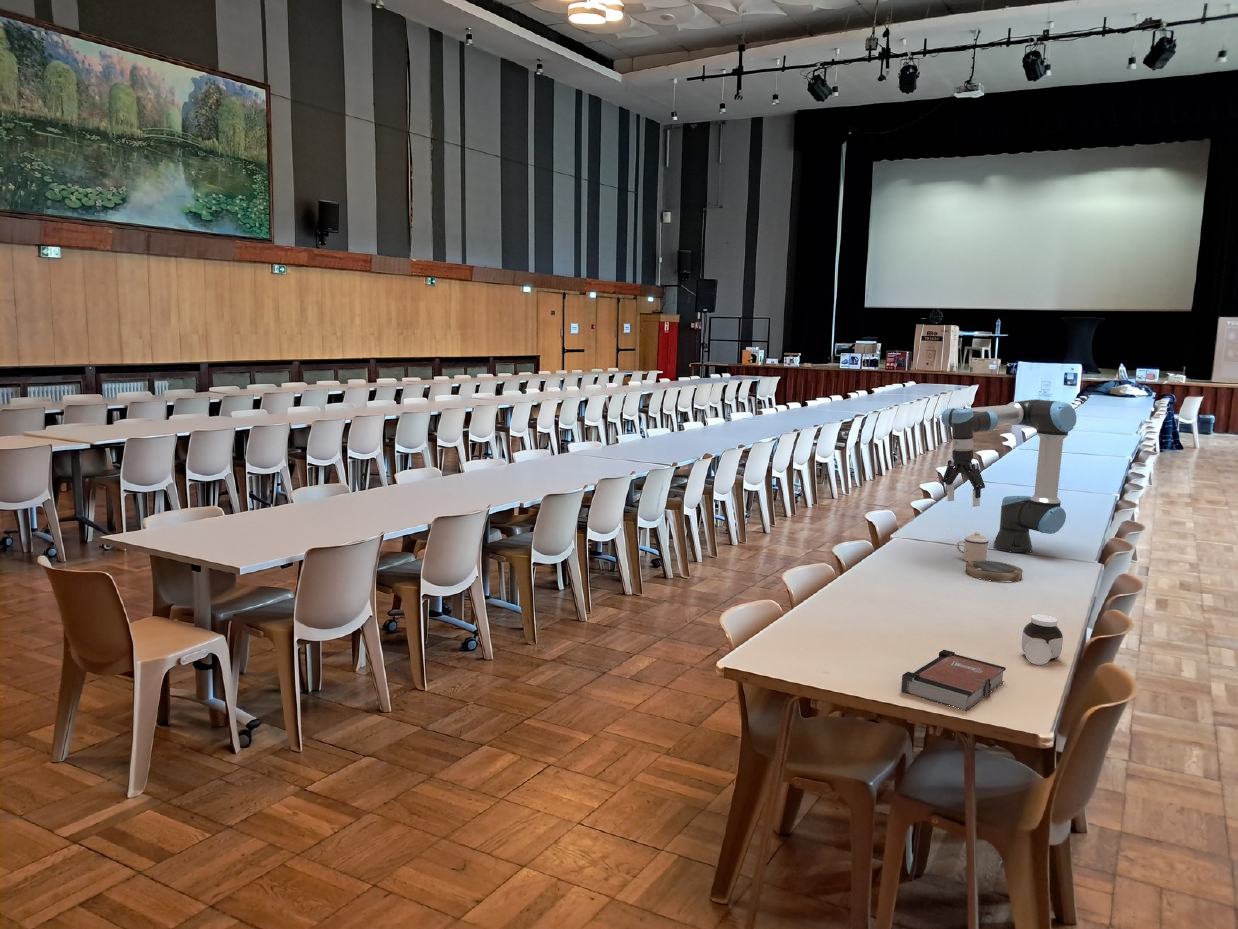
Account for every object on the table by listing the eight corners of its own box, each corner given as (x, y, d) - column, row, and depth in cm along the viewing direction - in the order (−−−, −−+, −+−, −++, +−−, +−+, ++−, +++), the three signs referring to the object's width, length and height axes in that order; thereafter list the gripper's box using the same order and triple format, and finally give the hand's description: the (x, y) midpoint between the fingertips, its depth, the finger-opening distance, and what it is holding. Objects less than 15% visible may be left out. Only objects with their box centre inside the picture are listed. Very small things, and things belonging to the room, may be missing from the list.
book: (969, 714, 219) (970, 694, 218) (900, 693, 231) (902, 674, 230) (1006, 684, 238) (1008, 666, 238) (942, 666, 250) (943, 649, 249)
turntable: (988, 565, 358) (988, 557, 357) (1033, 578, 341) (1034, 569, 340) (954, 571, 348) (954, 563, 347) (998, 585, 331) (999, 576, 330)
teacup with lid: (989, 560, 366) (991, 532, 365) (983, 565, 359) (986, 536, 357) (958, 555, 373) (960, 528, 371) (952, 560, 366) (955, 532, 364)
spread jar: (1050, 652, 262) (1054, 614, 260) (1071, 667, 251) (1075, 627, 249) (1010, 652, 261) (1013, 613, 259) (1029, 667, 250) (1033, 626, 248)
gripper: (932, 447, 357) (933, 500, 360) (979, 453, 334) (979, 509, 337) (947, 445, 360) (948, 497, 363) (994, 451, 337) (995, 507, 340)
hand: (963, 503), depth 350 cm, fingers open, 13 cm apart
